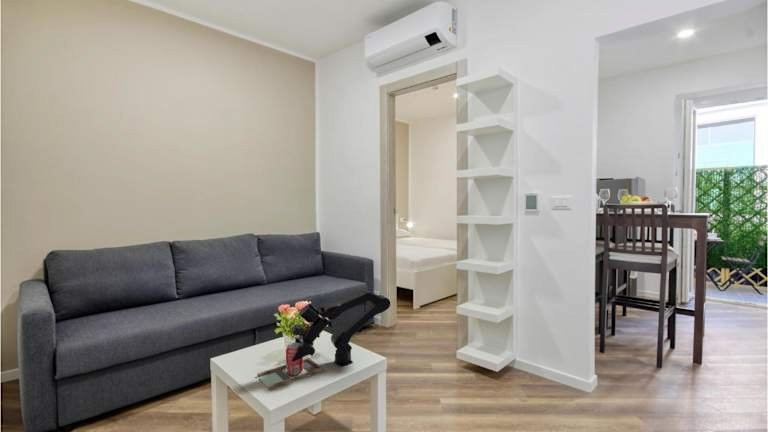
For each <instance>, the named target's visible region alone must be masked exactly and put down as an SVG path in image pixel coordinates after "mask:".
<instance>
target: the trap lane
mask: <svg viewBox="0 0 768 432" xmlns="http://www.w3.org/2000/svg"><path fill="white" fill-rule="evenodd" d="M306 362H308V363H310V364H311V365H312V366H314V367H315V368H317V369H316V370H313V371H310V372H309V371H308V372H305V373H302V374H301V373H300V374H297V375H295V376H293V377H290V379H287V380H284V381H281V382H278V383H275V384H272V385H269V387H268V390H273V389H276V388H278V387H282V386H284V385H286V384H287V385H288V384H289V383H293V382H296V381H298V380H302V379H304V378H307V377H309V376H312V375H316V374H319V373H321V372H323V371H324V368H323V367H322V366H321V365H320V364H319V363H317V362H315V361H314V360H313V359H311V358H310V357H307V359H306V358H303V363H306ZM281 370H282V371H283V370H287V368H286V364H284V365H281V366H278V367H275V368H271V369H268V370H264V371H262V372H259V373H258V372H257V374H256V375H257V376H256V377H257V378H259V377H263V376H266V375H269V374H272V373H275V372H278V371H281Z"/></svg>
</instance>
